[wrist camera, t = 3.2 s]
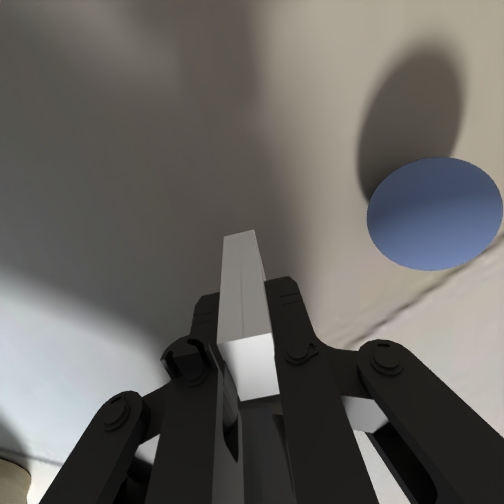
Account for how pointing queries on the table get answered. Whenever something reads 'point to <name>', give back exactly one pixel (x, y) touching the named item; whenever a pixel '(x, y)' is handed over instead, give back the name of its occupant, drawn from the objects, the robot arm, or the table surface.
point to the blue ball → (434, 213)
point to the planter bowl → (13, 483)
